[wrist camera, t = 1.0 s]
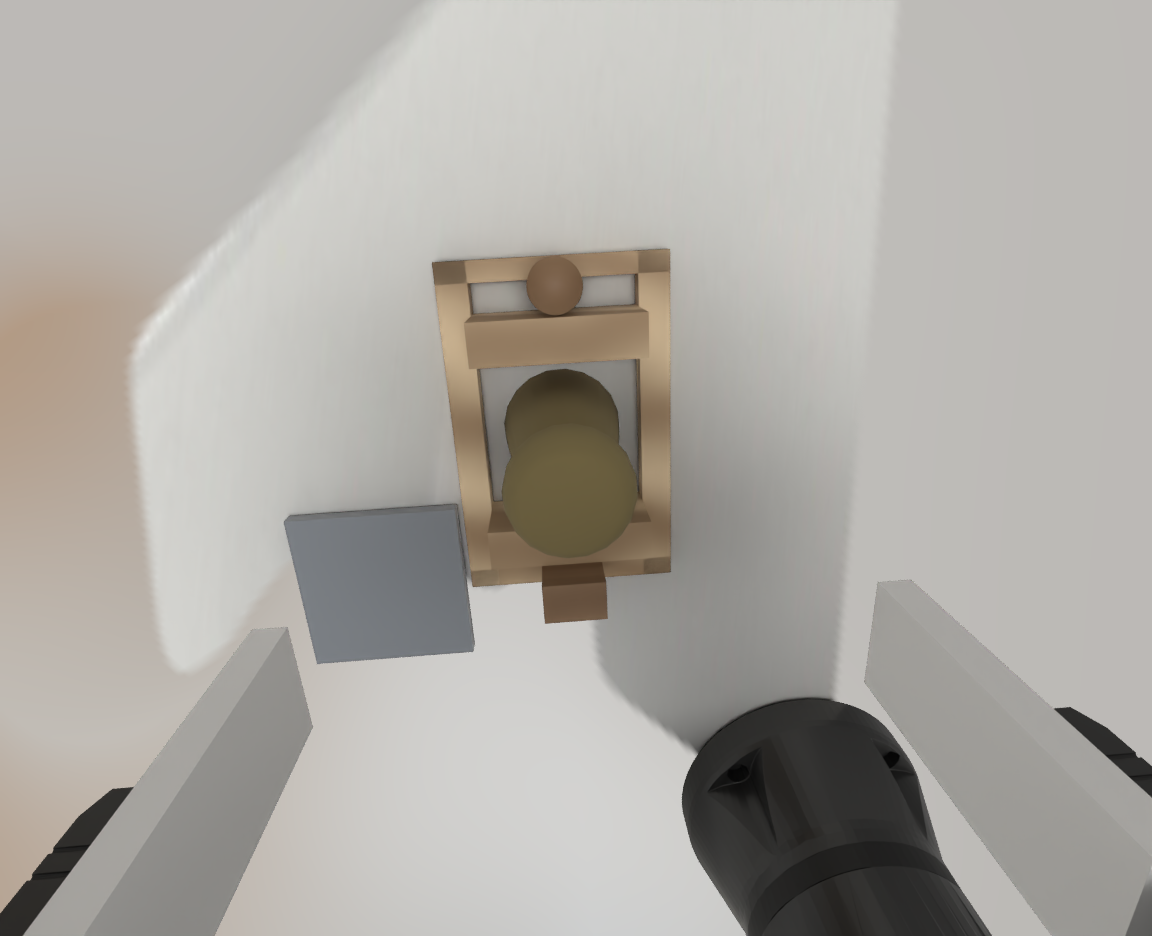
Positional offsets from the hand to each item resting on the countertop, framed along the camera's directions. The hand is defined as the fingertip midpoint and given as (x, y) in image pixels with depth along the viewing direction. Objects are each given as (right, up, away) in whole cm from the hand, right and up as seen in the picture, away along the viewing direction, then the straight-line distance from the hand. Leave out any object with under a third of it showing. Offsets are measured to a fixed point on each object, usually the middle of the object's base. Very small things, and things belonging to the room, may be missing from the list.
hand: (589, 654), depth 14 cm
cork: (-1, +6, +19) cm, 20 cm away
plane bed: (-1, +6, +19) cm, 20 cm away
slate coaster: (-11, -2, +21) cm, 24 cm away
